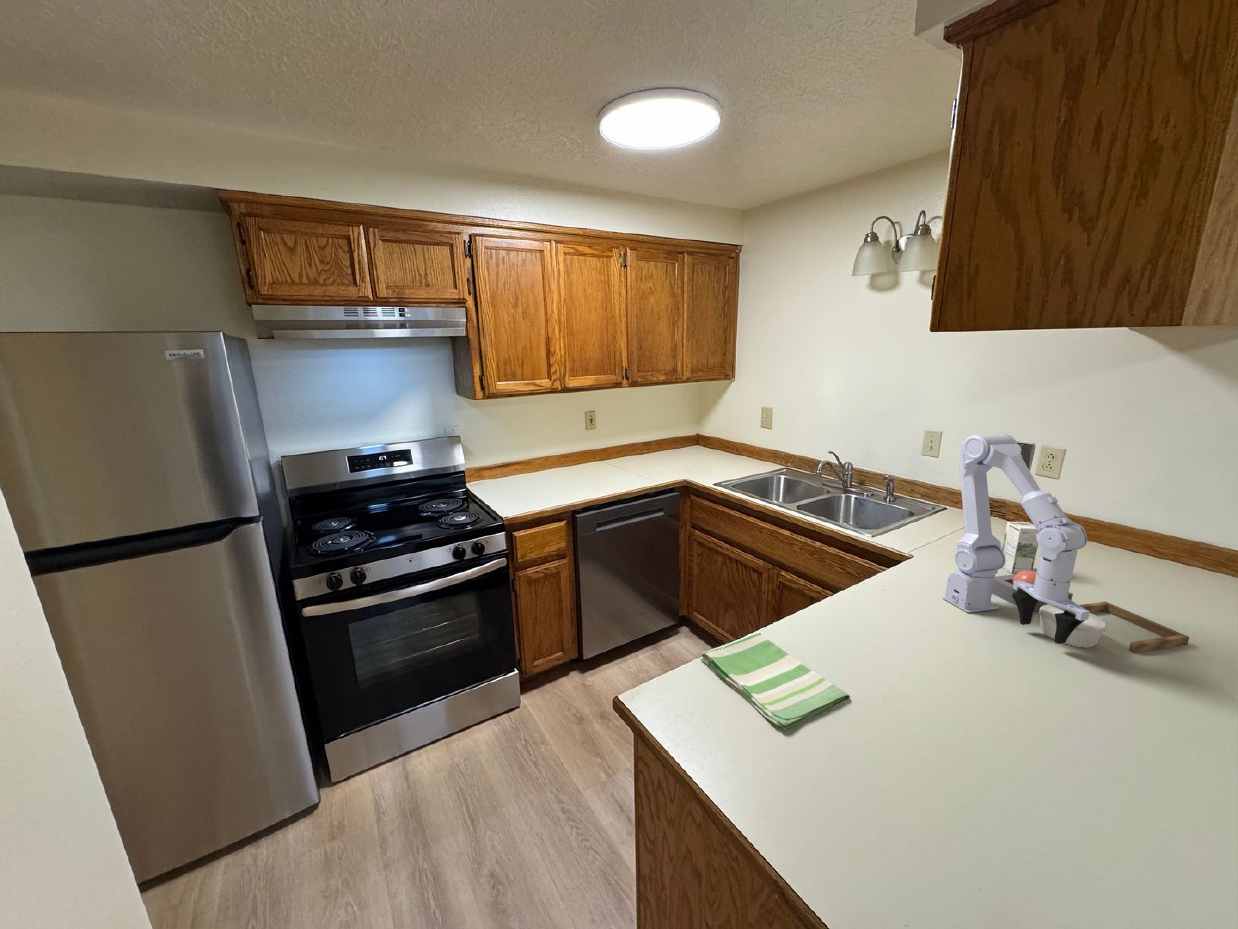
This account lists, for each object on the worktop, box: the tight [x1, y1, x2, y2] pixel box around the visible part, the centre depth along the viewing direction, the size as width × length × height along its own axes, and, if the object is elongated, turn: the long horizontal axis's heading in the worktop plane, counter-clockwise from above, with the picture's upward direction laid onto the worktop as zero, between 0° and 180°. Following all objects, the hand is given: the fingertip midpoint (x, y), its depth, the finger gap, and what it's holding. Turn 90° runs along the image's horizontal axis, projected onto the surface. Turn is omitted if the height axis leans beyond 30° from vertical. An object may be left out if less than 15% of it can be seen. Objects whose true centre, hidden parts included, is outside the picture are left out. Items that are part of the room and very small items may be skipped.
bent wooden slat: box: [1078, 601, 1190, 654], centre depth 113 cm, size 15×16×2 cm
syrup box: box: [1001, 521, 1039, 575], centre depth 143 cm, size 6×6×14 cm
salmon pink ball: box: [1013, 570, 1037, 585], centre depth 127 cm, size 7×7×7 cm
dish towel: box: [700, 631, 851, 731], centre depth 97 cm, size 18×23×3 cm
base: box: [992, 573, 1074, 614], centre depth 127 cm, size 12×12×4 cm
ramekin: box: [1038, 604, 1107, 649], centre depth 110 cm, size 11×11×5 cm
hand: (1041, 632), depth 109 cm, fingers open, 7 cm apart
